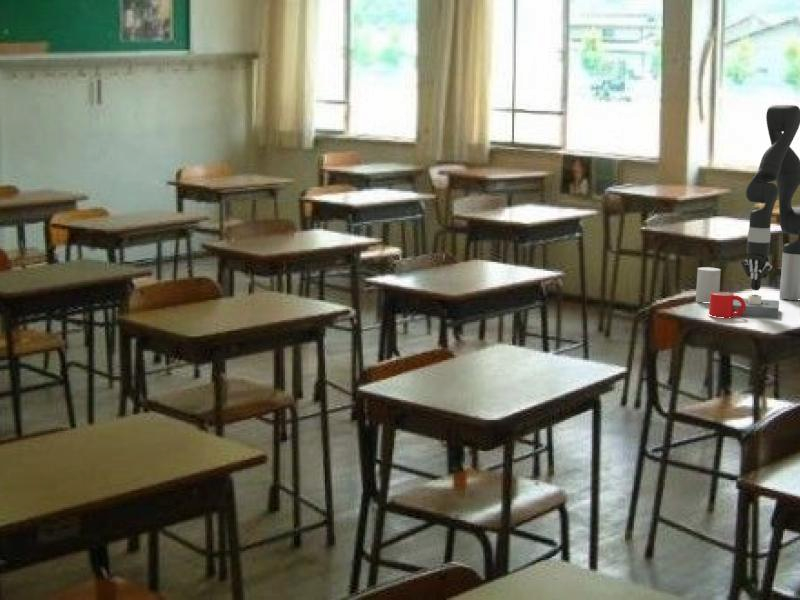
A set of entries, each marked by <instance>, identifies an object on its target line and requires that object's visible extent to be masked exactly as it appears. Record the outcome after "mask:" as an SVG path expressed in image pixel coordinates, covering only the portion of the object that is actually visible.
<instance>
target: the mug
mask: <svg viewBox="0 0 800 600" xmlns="http://www.w3.org/2000/svg"><path fill="white" fill-rule="evenodd" d="M742 298H743V297H741V296H740V295H734V293H732V292H728V291H727V292H725V291H719V292H711V293H710V304H708V305H709V307H708V308H709V309H708V315H709V314H710V315H712V316H716V317H724V318H723V319H730V318H729V317H732V316H733V317H738V316H739V315H741V314H742V313H743V312H744V311H745V308H746V304H745V301H744V300H743V299H742ZM734 300H738V301H739V302H740V303H741V309H740V310H739V311H738V312H733V301H734ZM733 317H732V318H733ZM739 317H740V316H739Z"/></svg>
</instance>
